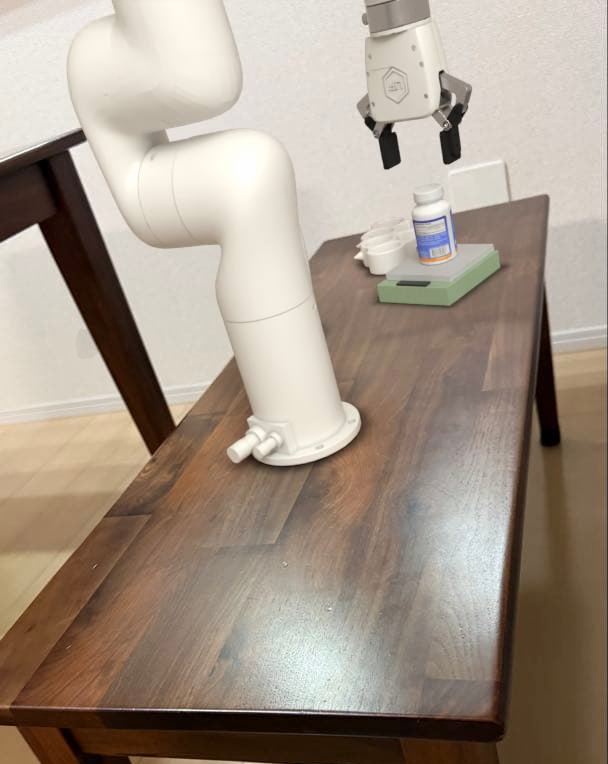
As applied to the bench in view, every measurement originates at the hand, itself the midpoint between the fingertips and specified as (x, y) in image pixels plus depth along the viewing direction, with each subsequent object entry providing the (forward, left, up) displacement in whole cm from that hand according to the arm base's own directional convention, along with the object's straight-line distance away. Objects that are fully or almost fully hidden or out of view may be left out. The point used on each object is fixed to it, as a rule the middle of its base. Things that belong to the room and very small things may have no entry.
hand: (421, 164), depth 111 cm
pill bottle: (0, 0, -13) cm, 13 cm away
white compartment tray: (+11, +16, -17) cm, 25 cm away
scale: (0, 0, -17) cm, 16 cm away
